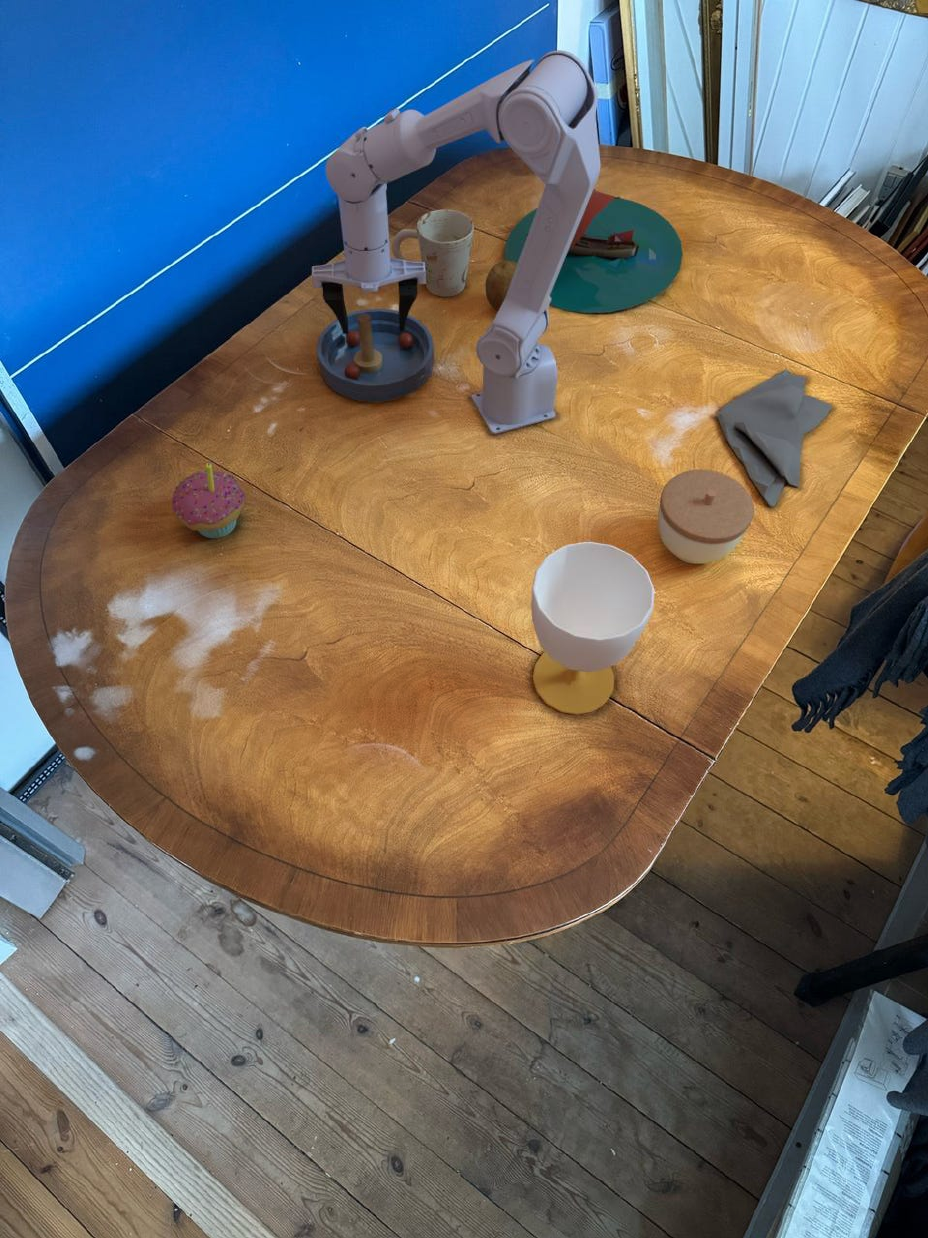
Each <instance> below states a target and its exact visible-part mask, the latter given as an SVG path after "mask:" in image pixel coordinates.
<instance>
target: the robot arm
mask: <svg viewBox="0 0 928 1238" xmlns="http://www.w3.org/2000/svg"><path fill="white" fill-rule="evenodd" d="M534 62H535V59H530V60H527V61H523V62H521V63H519V64H517V65H515V66H512V67H511V68H509V69H507V70H505V71H503V72H501V73H499V74H497V75H495V76H493V77H491V78H490V79H488V80H487V81H485V82H483V83H481V84H479V85H477V86H475V87H473V88H472V89H470V90H468V91H466V92H465V93H463V94H461V95H459V96H458V97H456V98H454V99H452V100H451V101H449V102H447V103H445V104H443V105H441V106H440V107H438V108H436V109H435V110H433V111H431V112H429V113H427V114H425V115H424V114H423V113H421V112H420V111H418V110H416V109H407V110H404V111H402V112H401V111H400V110H399V108H397V107H396V108H394V109H392V110H390V111H389V112H387V114H385V116H384V117H383V120H384V121H383V122H381V123H379V124H377V125H376V126H373V127H371V128H369V129H368V128H367V127H366V126H363V127H361V128H359V129H357V130H356V132H354V133H353V134H352V135H350V137H348V139H346V140H345V141H344V143H342V144H341V145H340V146H339V147H338V148H336V150H334V152H333V153H332V154H331V155H330V156H329V157H328V159H327V161H326V164H325V177H326V180H327V182H328V184H329V186H330V189H332V191H333V192H334V193H335V195H337V197H338V207H339V208H338V209H339V214H340V215H339V217H340V224H341V233H342V243H343V251H344V252H343V253H344V259H342V260H338V261H334V262H331V263H327V264H322V265H313V266H311V278H312V286H313V288H314V289H321V288H322V298H323V301H324V303H325V304H326V305H327V306H328V307H329V309H331V311H332V312H333V314H334V316H335V317H336V319H338V321H339V323H340V325H341V328H342V331H343V334H348V318H347V314H348V312H347V307H346V302H345V293H344V285H345V286H350V287H356V288H360V290H361V292H362V293H376V292H378V290H379V288H380V287H383V286H387V285H391V284H395V283H397V284H398V285H397V286H398V311H399V329H400V332H402V331H405V323H406V319H407V316H408V315H409V313H410V310H411V309H412V307H413V304H414V303H415V301H416V300H417V297H418V293H419V288H418V285H426V275H425V262H422V261H412V260H411V261H410V260H407V261H405V260H400V259H396V258H395V257H391V250H390V249H391V248H390V234H389V233H390V231H389V218H388V217H389V216H388V202H387V190H388V186H387V185H388V184H389V183H391V182H393V181H396V180H398V179H400V178H402V177H405V176H406V175H409V174H411V173H414V172H415V171H419V170H421V169H422V168H425V167H427V166H430V164H431V163H433V161H434V159H435V156H436V152H437V148H439V147H443V146H444V145H447V144H450V143H453V142H455V141H457V140H461V139H462V138H466V137H469V136H471V135H473V134H474V135H475V134H476V133H479V132H481V131H484V130H486V131H487V133H488V134H489V136H490V137H491V138H492V139H493V141H495V143H497V144H499V145H500V144H503V142H504V141H505V142H506V143H507V145H508V146H509V148H511V150H512V151H513V152H514V153H515V154H516V155H517V156H518V157H519V159H521V160H522V161H523V162H524V163H525V165H527V167H528V168H529V169H530V170H531V171H532V172H533V173H534V174H535V176H537V178H539V179H540V181H542V183H543V184H544V188H543V192H542V195H541V198H540V200H539V203H538V206H537V211H536V214H535V217H534V219H533V222H532V225H531V228H530V231H529V233H528V236H527V239H526V242H525V245H524V247H523V250H522V253H521V256H520V259H519V261H518V264H517V267H516V270H515V272H514V275H513V278H512V281H511V284H510V286H509V289H508V292H507V295H506V298H505V300H504V302H503V303H502V305H501V307H500V309H499V311H497V312H496V315H495V317H494V318H493V321H492V323H491V324H490V325H489V327H488V328H487V329H486V330H485V332H484V333H483V334H481V336H480V337H479V338H478V340H477V342H476V347H475V349H476V350H475V351H476V356H477V359H478V360H479V362H480V363H481V364H482V366H483V369H482V391H480V392H475V393H473V394H471V401H472V402H473V404H474V406H475V408H476V409H477V411H478V413H479V414H480V416H481V418H482V420H483V421H484V424H485V425H486V426H487V429H488V430H489V431H490V434H492V435H498V434H501V433H504V432H508V431H513V430H517V429H520V428H523V427H527V426H530V425H534V424H538V423H542V422H545V421H549V420H553V419H555V418H556V415H557V414H556V412H555V410H554V409H555V400H556V394H557V385H558V368H557V362H556V359H555V356H554V354H553V351H552V350H551V348H550V347H549V345H546V344H539V342H540V339H541V338H542V336H543V335H544V334H545V333H546V331H547V330H548V328H549V326H550V314H549V309H550V308H549V307H550V305H549V304H550V302H551V297H550V293H551V291H552V289H553V286H554V284H555V281H556V279H557V276H558V274H559V272H560V269H561V267H562V264H563V262H564V259H565V257H566V255H567V252H568V250H569V247H570V245H571V242H572V240H573V238H574V235H575V233H576V230H577V228H578V226H579V223H580V221H581V218H582V216H583V213H584V211H585V209H586V206H587V204H588V201H589V199H590V196H591V194H592V192H593V189H595V187H596V184H597V182H598V180H599V177H600V172H601V169H602V165H601V157H600V146H599V137H598V128H597V127H598V126H597V108H598V107H597V106H598V101H599V100H598V99H599V90H598V89H597V87H596V85H595V83H594V81H593V79H592V76H591V74H590V73H589V71H588V69H587V67H586V65H585V64H584V62H583V61H582V60H581V59H580V58H579V57H578V56H577V55H575V54H573V53H572V52H569V51H566V50H560V49H559V50H553V51H549V52H548V53H545V54H544V55H542V57H540V59H539V60H538V61H537V62H536V65H535V67H534V69H533V70H531V67H532V65H533V64H534ZM530 70H531V71H530Z"/></svg>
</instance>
